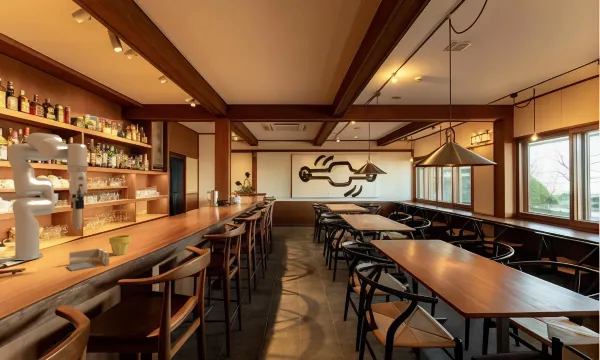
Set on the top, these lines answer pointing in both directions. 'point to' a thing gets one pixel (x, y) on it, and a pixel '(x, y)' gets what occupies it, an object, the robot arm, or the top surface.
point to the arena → (89, 256)
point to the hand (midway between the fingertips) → (77, 208)
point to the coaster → (81, 266)
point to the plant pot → (120, 244)
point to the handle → (76, 216)
